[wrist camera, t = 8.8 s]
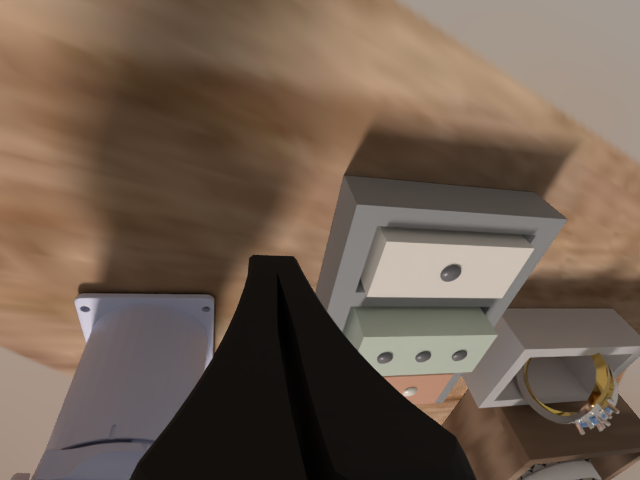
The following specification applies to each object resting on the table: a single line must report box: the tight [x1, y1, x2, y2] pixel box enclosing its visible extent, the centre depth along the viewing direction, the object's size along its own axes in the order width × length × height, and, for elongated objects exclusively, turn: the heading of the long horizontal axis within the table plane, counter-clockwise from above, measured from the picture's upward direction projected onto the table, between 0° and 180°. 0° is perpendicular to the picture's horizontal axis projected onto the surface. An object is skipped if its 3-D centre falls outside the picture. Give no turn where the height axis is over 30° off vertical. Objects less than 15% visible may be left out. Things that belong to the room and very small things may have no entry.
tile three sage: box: [343, 306, 498, 376], centre depth 25 cm, size 4×9×3 cm, turn 79°
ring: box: [517, 353, 619, 435], centre depth 31 cm, size 7×3×8 cm, turn 135°
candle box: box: [442, 389, 640, 480], centre depth 39 cm, size 14×14×8 cm
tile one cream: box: [360, 226, 535, 298], centre depth 23 cm, size 4×9×3 cm, turn 80°
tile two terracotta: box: [383, 373, 453, 405], centre depth 29 cm, size 4×9×3 cm, turn 79°
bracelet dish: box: [462, 308, 640, 408], centre depth 33 cm, size 8×12×4 cm, turn 79°
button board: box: [315, 175, 568, 403], centre depth 27 cm, size 19×13×3 cm, turn 169°
